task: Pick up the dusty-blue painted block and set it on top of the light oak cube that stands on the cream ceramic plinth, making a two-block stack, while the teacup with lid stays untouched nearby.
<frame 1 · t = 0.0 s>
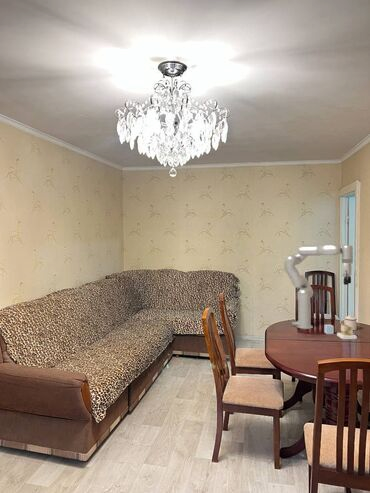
hand: (347, 283, 277), 37 cm above the table, tool pointing down, fingers open, 9 cm apart
plinth: (346, 337, 265), on the table
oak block: (346, 334, 265), point 2 cm above the table, touching plinth
teacup with lid: (348, 329, 288), on the table
blue block: (328, 333, 277), on the table
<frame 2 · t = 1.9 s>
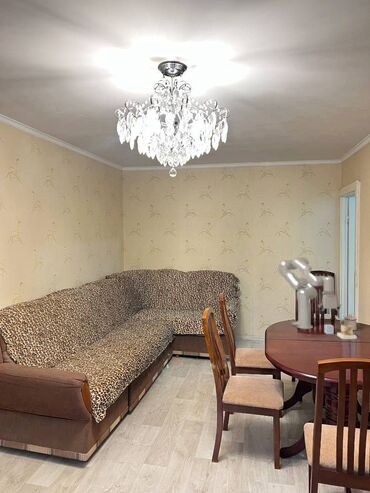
hand: (329, 315, 276), 13 cm above the table, tool pointing down, fingers open, 9 cm apart
nothing on the table moved.
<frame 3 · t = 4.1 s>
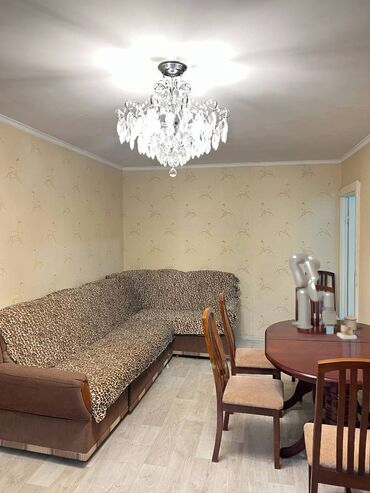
hand: (329, 332, 277), 0 cm above the table, tool pointing down, fingers closed on blue block, 5 cm apart
blue block: (329, 333, 277), on the table, touching gripper
everything else where it was.
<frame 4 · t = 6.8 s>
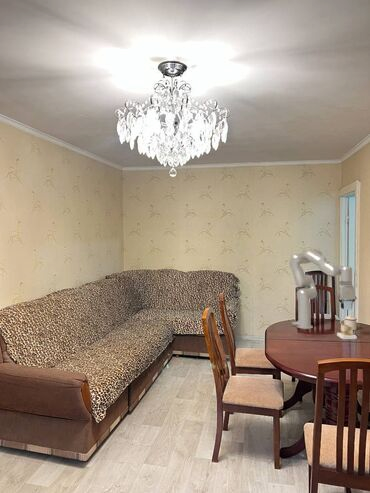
hand: (346, 308, 265), 21 cm above the table, tool pointing down, fingers closed on blue block, 5 cm apart
blue block: (346, 308, 264), point 21 cm above the table, touching gripper
everything else where it was.
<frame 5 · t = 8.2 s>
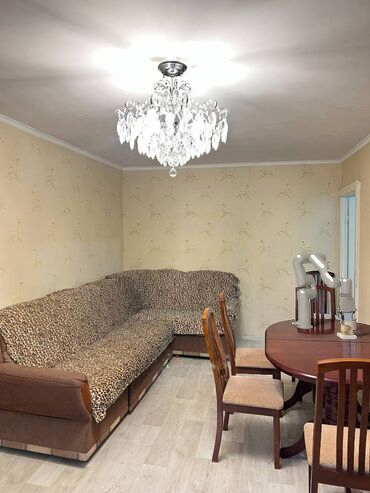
hand: (346, 320, 265), 12 cm above the table, tool pointing down, fingers closed on blue block, 5 cm apart
blue block: (346, 320, 264), point 12 cm above the table, touching gripper
everything else where it was.
when the fingers open (10 cm above the table, at t = 9.6 s): blue block drops 1 cm, resting on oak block.
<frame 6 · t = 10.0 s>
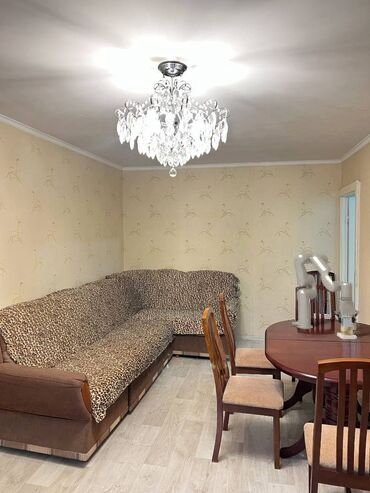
hand: (346, 322, 265), 10 cm above the table, tool pointing down, fingers open, 9 cm apart
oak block: (346, 334, 265), point 2 cm above the table, touching blue block, plinth
blue block: (346, 326, 265), point 8 cm above the table, touching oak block
everything else where it was.
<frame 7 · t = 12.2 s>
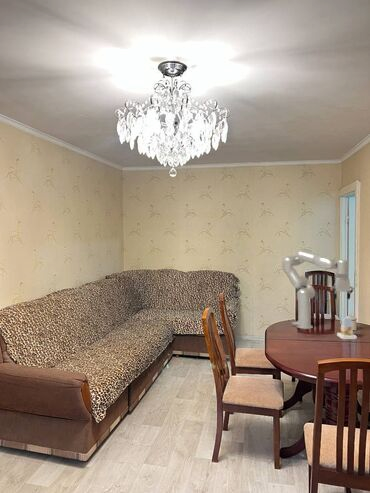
hand: (341, 298, 274), 26 cm above the table, tool pointing down, fingers open, 9 cm apart
nothing on the table moved.
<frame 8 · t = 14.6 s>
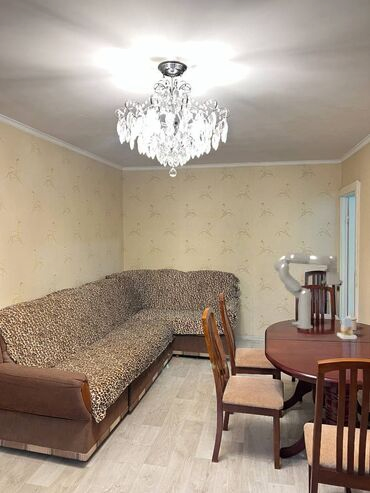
hand: (332, 291, 299), 28 cm above the table, tool pointing down, fingers open, 9 cm apart
nothing on the table moved.
at the end: blue block 0.0 cm off-centre on the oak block, point 6.0 cm above the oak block's base; blue block tilted 0°; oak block 0.0 cm off-centre on the plinth, point 2.0 cm above the plinth's base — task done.
